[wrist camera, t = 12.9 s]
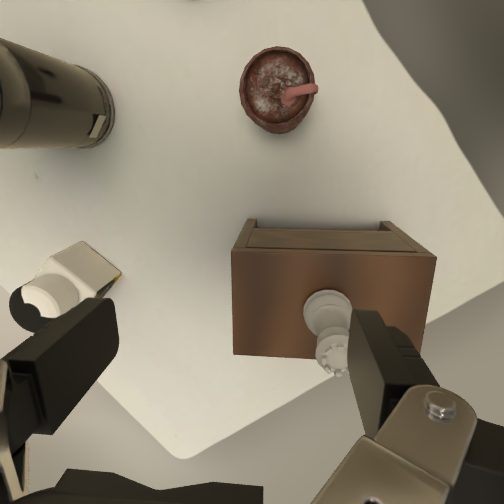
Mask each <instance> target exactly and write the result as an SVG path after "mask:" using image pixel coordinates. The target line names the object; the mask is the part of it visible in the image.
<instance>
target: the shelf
mask: <svg viewBox="0 0 504 504" xmlns="http://www.w3.org/2000/svg"><path fill="white" fill-rule="evenodd" d="M436 260H437V257H436V256H435V255H433V254H432V253H431V252H429V251H428V250H427V249H425V248H424V247H423V246H421V245H420V244H419V243H417V242H416V241H415V240H413V239H412V238H411V237H409V236H408V235H407V234H406V233H404V232H403V231H402V230H400V229H399V228H398V227H396V226H395V225H394V224H392V223H391V222H385V221H381V222H380V229H379V231H361V230H314V229H267V228H257V219H248V220H247V221H246V223H245V225H244V227H243V229H242V231H241V233H240V235H239V237H238V239H237V241H236V243H235V245H234V247H233V249H232V251H231V274H232V319H233V354H234V355H250V356H268V357H285V358H303V359H316V357H315V356H316V348H317V338H318V336H317V335H315V334H314V333H313V332H312V331H311V330H310V329H309V328H308V327H307V324H306V322H305V318H304V315H303V312H304V305H305V303H306V301H307V299H308V298H309V297H311V296H312V295H313V294H314V293H316V292H319V291H322V290H335V291H337V292H339V293H342V294H343V295H344V296H345V297H346V298H347V299H348V300H349V301H350V304H351V306H352V310H353V309H363V310H377V311H378V312H379V314H380V316H381V317H382V319H383V321H384V323H385V325H386V326H395V327H397V328H398V329H399V330H401V331H402V332H403V333H405V334H406V335H408V337H409V338H410V340H411V341H412V343H413V345H414V346H415V349H417V351H418V352H419V354H420V351H421V345H422V340H423V334H424V329H425V323H426V317H427V312H428V306H429V300H430V294H431V289H432V283H433V277H434V272H435V266H436ZM349 329H350V328H349ZM348 332H349V330H348Z"/></svg>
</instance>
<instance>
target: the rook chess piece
mask: <svg viewBox="0 0 504 504" xmlns="http://www.w3.org/2000/svg"><path fill="white" fill-rule="evenodd" d="M351 313H352V306H351V304H350V301H349V300H348V299H347V298H346V297H345V296H344V295H343V294H342V293H339V292H337V291H335V290H322V291H319V292H316V293H314V294H313V295H312V296H311V297H309V298H308V299H307V301H306V303H305V305H304V312H303V315H304V318H305V322H306V324H307V327H308V328H309V329H310V330H311V331H312V332H313V333H314V334H315V335H317V336H318V338H317V348H316V356H315V357H316V359H317V361H318V364H319V365H321V366H322V367H323V368H324V370H325V371H326V372H327V373H328V374H329V373H330V372H334V374H335V376H336V377H342V374H341V373H342V372H347V373H348V375H349V372H348V365H347V349H348V339H349V332H348V330H349V328H350V319H351Z"/></svg>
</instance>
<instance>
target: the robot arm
mask: <svg viewBox="0 0 504 504" xmlns="http://www.w3.org/2000/svg"><path fill="white" fill-rule="evenodd" d="M113 121H114V106H113V101H112V98H111V95H110V93H109V91H108V89H107V87H106V86H105V84H104V83H103V82H102V80H101V79H100V78H99V77H98V76H97V75H95V74H94V73H93V72H91V71H89V70H87V69H85V68H83V67H80V66H77V65H72V64H69V63H67V62H64V61H62V60H59V59H56V58H53V57H51V56H48V55H45V54H42V53H40V52H37V51H34V50H31V49H29V48H26V47H23V46H21V45H18V44H15V43H12V42H10V41H7V40H4V39H1V38H0V149H28V148H90V147H94V146H96V145H98V144H100V143H101V142H102V141H103V140H104V139H105V138H106V137H107V136H108V134H109V133H110V131H111V128H112V125H113ZM118 347H119V334H118V327H117V320H116V313H115V306H114V302H113V300H112V299H110V298H93V297H88V298H86V299H84V300H83V301H82V302H80V303H79V304H78V305H77V306H75V307H74V308H73V309H71V310H70V311H69V312H67V313H65V314H62V315H60V316H58V317H56V318H54V319H53V320H52V321H50V322H49V323H48V324H46V325H45V326H44V327H43V329H40V330H38V331H37V332H36V333H34V335H33V336H30V337H29V338H28V339H26V340H25V341H24V342H23V343H21V344H20V345H19V346H17V347H16V348H15V349H13V350H12V351H11V352H9V353H8V354H7V355H5V356H4V357H3V358H1V359H0V504H263V486H252V485H242V484H241V485H240V484H230V483H220V482H219V483H218V482H209V483H204V484H197V485H190V486H184V487H178V488H172V489H166V490H155V489H152V488H150V487H147V486H145V485H142V484H140V483H137V482H135V481H132V480H130V479H128V478H125V477H123V476H120V475H118V474H115V473H111V472H100V471H99V472H98V471H89V470H78V469H67V470H66V471H65V473H64V474H63V475H62V477H61V478H60V480H59V481H58V483H57V484H56V486H55V487H52V488H48V489H44V490H40V491H37V492H34V493H31V494H29V445H28V441H27V439H28V438H29V437H30V436H31V435H32V433H33V434H46V435H53V434H54V432H55V431H56V430H57V429H58V427H59V426H60V425H61V424H62V422H63V421H64V420H65V419H66V417H67V416H68V415H69V414H70V412H71V411H72V410H73V409H74V407H75V406H76V405H77V404H78V402H79V401H80V400H81V399H82V397H83V396H84V395H85V394H86V392H87V391H88V390H89V389H90V387H91V386H92V385H93V384H94V382H95V381H96V380H97V379H98V377H99V376H100V375H101V374H102V372H103V371H104V370H105V369H106V367H107V366H108V365H109V364H110V362H111V361H112V360H113V359H114V357H115V356H116V354H117V351H118ZM347 365H348V372H349V375H350V379H351V383H352V386H353V390H354V394H355V397H356V401H357V404H358V408H359V411H360V415H361V419H362V423H363V426H364V430H365V434H366V435H363V436H361V437H360V438H359V439H358V440H357V442H356V443H355V444H354V446H353V447H352V448H351V450H350V451H349V452H348V454H347V455H346V457H345V458H344V459H343V461H342V462H341V463H340V465H339V466H338V467H337V469H336V470H335V471H334V473H333V474H332V475H331V477H330V478H329V479H328V481H327V482H326V484H325V485H324V486H323V487H322V489H321V490H320V492H319V493H318V494H317V495H316V497H315V498H314V500H313V501H312V502H311V504H504V427H503V426H500V425H496V424H493V423H489V422H486V421H483V420H481V419H478V418H477V416H476V413H475V411H474V410H473V408H472V407H471V406H470V405H469V404H468V403H467V402H466V401H465V400H464V399H462V398H461V397H460V396H458V395H456V394H455V393H453V392H451V391H449V390H446V389H443V388H441V387H440V386H439V384H438V383H437V381H436V380H435V378H434V376H433V375H432V373H431V371H430V370H429V368H428V367H427V365H426V363H425V362H424V360H423V359H422V358H421V356H420V354H419V352H418V351H417V349H415V346H414V345H413V343H412V341H411V340H410V338H409V337H408V335H406V334H405V333H403V332H402V331H401V330H399V329H398V328H397V327H395V326H386V325H385V323H384V321H383V319H382V317H381V316H380V314H379V312H378V311H377V310H363V309H353V310H352V313H351V319H350V329H349V339H348V349H347Z"/></svg>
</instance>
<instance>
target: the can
mask: <svg viewBox="0 0 504 504" xmlns="http://www.w3.org/2000/svg"><path fill="white" fill-rule="evenodd" d="M317 92H318V86H317V85H316V84H315V80H314V74H313V72H312V69H311V67H310V65H309V63H308V62H307V61H306V60H305V58H304V57H303V56H302V55H301V54H300V53H298V52H296V51H294V50H292V49H290V48H286V47H278V46H276V47H272V48H267V49H264V50H262V51H261V52H259V53H258V54H256V55H255V56H253V58H252V59H251V60H250V61H249V63H248V64H247V65H246V66H245V69H244V71H243V74H242V76H241V79H240V88H239V93H240V99H241V104H242V106H243V108H244V110H245V112H246V114H247V115H248V116H249V117H250V118H251V119H252V120H253V121H254V122H255V123H256V124H257V125H259V126H260V127H262V128H263V129H265V130H267V131H269V132H271V133H276V134H282V133H287V132H289V131H291V130H293V129H295V128H296V127H297V126H298V125H299V123H300V122H301V121H302V120H303V118H304V117H305V115H306V114H307V113H308V111H309V108H310V106H311V104H312V102H313V99H314V94H316V93H317Z"/></svg>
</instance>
